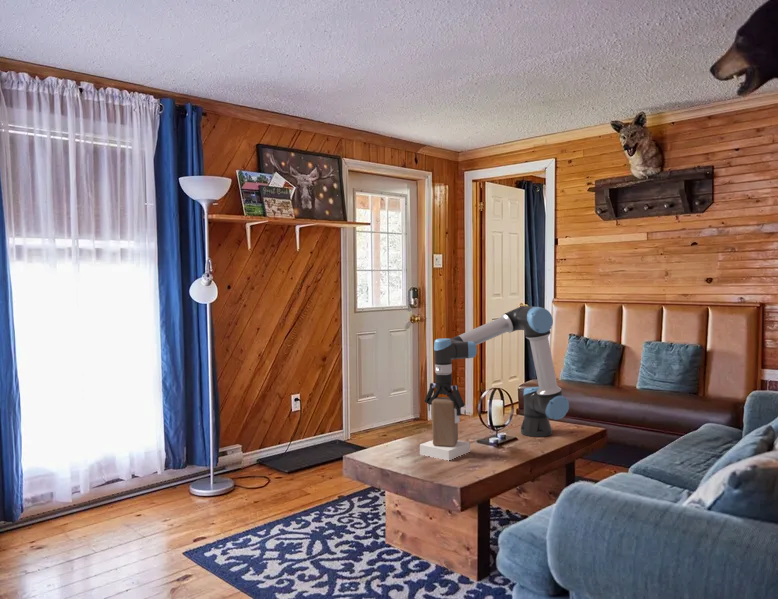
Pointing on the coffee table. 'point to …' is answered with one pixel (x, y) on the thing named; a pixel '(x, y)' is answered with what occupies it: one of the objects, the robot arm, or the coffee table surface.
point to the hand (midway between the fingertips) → (444, 420)
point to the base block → (444, 450)
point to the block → (444, 422)
